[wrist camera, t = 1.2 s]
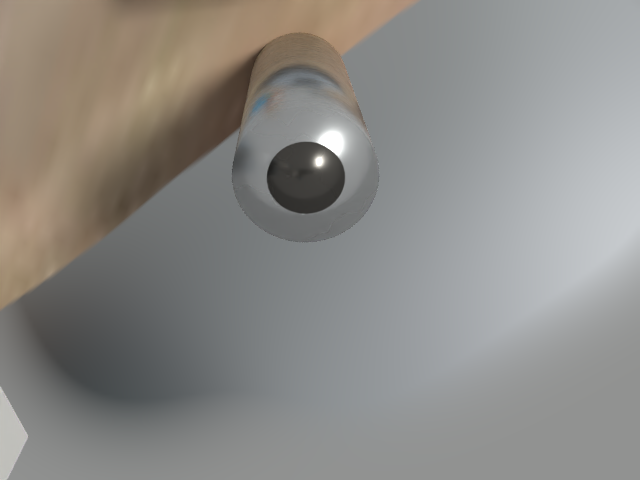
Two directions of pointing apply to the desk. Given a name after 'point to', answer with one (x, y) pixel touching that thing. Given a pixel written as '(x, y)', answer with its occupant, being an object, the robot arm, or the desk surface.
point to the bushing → (303, 144)
